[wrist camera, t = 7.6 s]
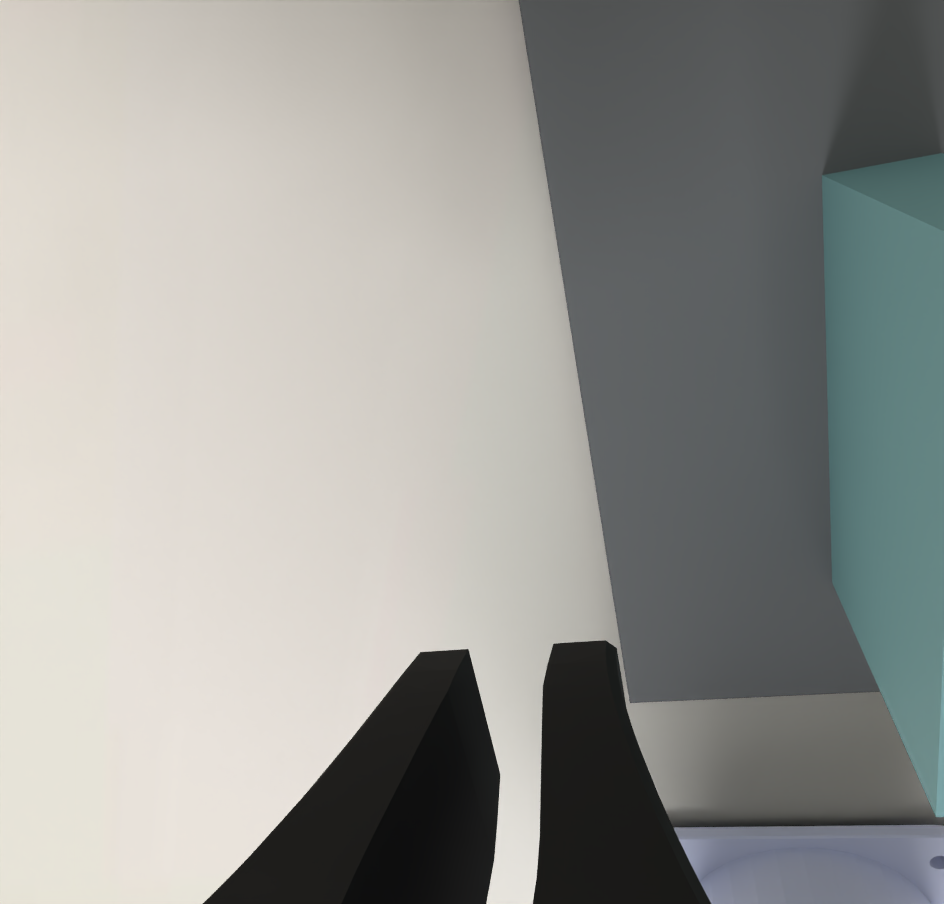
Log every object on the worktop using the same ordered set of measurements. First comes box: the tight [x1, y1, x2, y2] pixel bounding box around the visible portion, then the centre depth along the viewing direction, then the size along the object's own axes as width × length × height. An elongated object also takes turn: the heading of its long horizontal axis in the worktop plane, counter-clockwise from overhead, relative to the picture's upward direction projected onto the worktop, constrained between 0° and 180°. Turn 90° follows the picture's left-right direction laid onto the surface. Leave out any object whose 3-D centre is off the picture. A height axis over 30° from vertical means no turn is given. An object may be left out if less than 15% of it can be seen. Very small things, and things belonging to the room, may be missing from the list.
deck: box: [822, 153, 944, 817], centre depth 13 cm, size 9×2×6 cm, turn 12°
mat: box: [519, 0, 944, 703], centre depth 16 cm, size 18×14×1 cm
